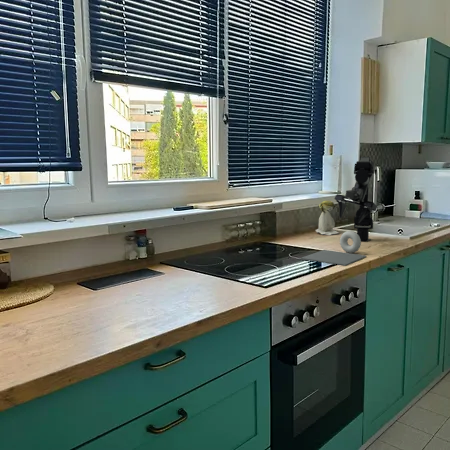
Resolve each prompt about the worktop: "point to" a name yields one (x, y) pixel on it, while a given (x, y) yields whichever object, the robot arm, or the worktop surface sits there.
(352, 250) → the donut
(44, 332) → the worktop surface
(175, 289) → the worktop surface
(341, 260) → the mat
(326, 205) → the white figurine
